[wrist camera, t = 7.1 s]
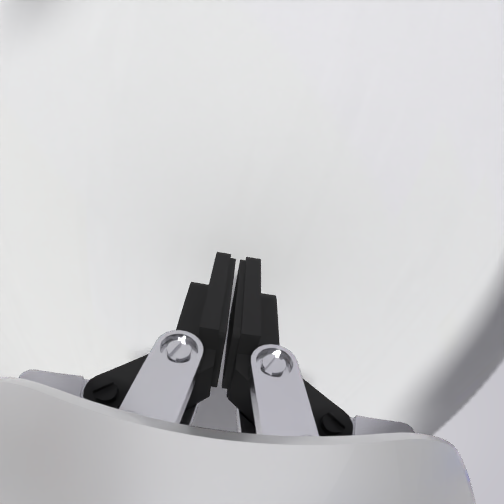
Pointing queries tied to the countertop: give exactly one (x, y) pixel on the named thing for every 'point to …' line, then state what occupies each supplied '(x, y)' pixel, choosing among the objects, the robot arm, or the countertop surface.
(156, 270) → the countertop surface
